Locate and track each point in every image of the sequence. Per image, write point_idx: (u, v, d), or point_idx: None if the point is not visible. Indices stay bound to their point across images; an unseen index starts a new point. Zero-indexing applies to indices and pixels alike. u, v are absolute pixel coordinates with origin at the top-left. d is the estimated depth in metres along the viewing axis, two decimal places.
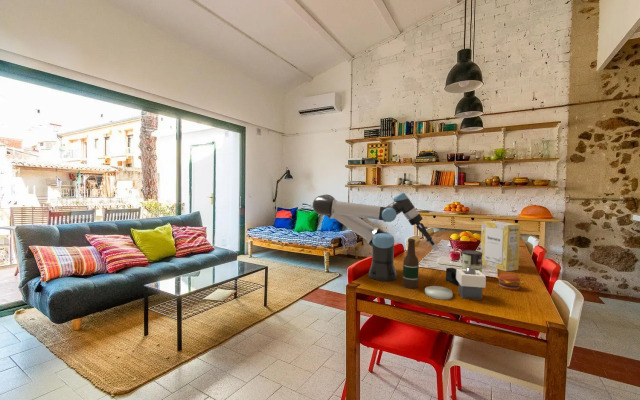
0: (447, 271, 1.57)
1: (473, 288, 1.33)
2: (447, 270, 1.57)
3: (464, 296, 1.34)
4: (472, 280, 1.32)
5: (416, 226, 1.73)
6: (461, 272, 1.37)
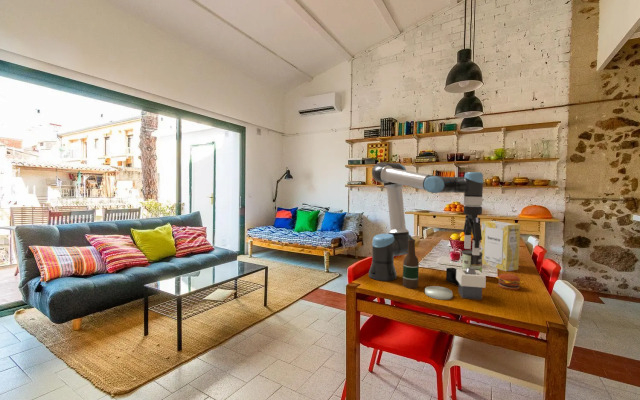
0: (447, 271, 1.58)
1: (473, 288, 1.33)
2: (447, 270, 1.58)
3: (464, 296, 1.34)
4: (472, 280, 1.32)
5: (467, 218, 1.37)
6: (461, 272, 1.37)
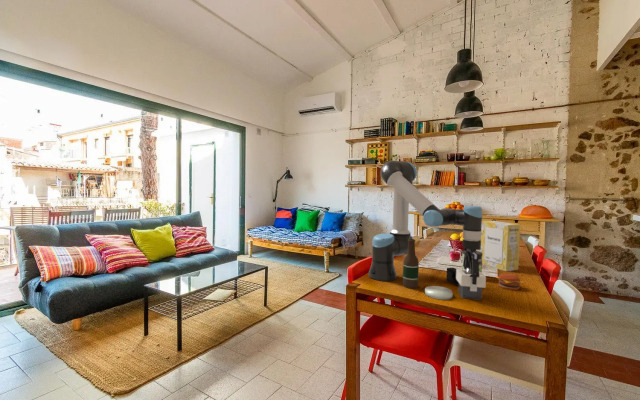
0: (448, 271, 1.58)
1: None
2: (448, 270, 1.58)
3: (464, 296, 1.34)
4: None
5: (466, 251, 1.38)
6: (461, 272, 1.37)
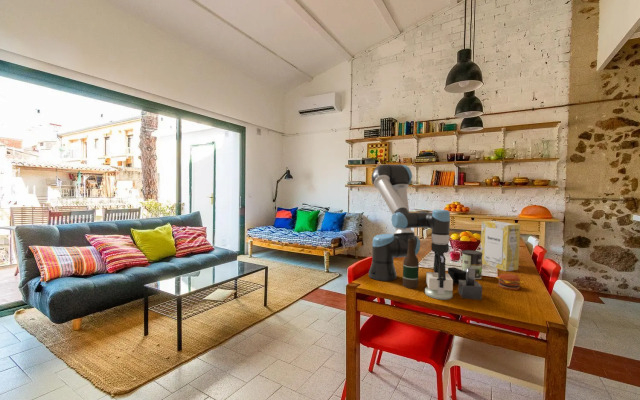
0: (449, 271, 1.58)
1: (473, 288, 1.33)
2: (449, 270, 1.58)
3: (464, 296, 1.34)
4: None
5: (435, 254, 1.39)
6: (430, 275, 1.38)
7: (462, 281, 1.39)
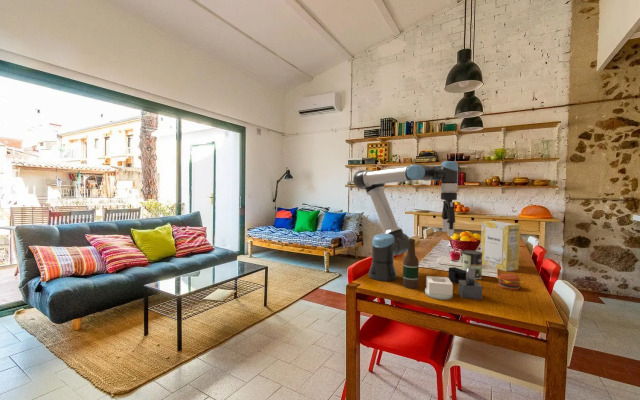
0: (450, 271, 1.58)
1: (473, 288, 1.33)
2: (450, 270, 1.58)
3: (464, 296, 1.34)
4: (439, 288, 1.33)
5: (444, 203, 1.51)
6: (430, 279, 1.38)
7: (462, 281, 1.39)
